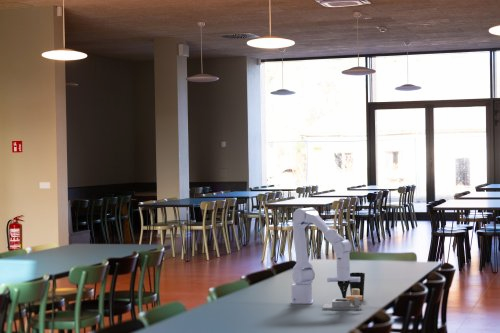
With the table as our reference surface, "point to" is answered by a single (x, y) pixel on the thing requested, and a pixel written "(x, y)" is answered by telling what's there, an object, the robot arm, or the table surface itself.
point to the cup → (358, 283)
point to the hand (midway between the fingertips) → (344, 298)
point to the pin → (353, 297)
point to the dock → (342, 305)
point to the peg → (355, 294)
